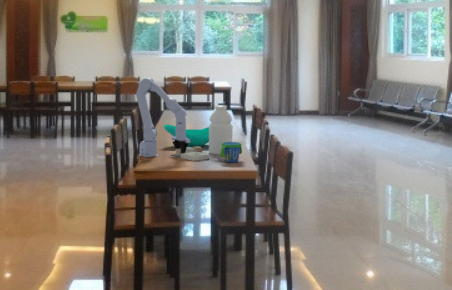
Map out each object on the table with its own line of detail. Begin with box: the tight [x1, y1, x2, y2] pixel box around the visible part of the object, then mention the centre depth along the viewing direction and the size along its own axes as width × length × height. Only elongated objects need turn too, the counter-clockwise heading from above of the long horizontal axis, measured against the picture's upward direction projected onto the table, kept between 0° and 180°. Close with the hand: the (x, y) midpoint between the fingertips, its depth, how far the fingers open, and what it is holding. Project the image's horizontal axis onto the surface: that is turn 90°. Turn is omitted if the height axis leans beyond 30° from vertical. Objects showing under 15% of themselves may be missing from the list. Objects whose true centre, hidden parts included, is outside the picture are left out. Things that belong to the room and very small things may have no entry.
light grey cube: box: [186, 146, 194, 153], centre depth 374 cm, size 4×4×4 cm
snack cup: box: [220, 141, 243, 164], centre depth 356 cm, size 16×10×10 cm
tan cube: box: [191, 146, 203, 153], centre depth 378 cm, size 4×4×4 cm
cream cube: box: [175, 148, 186, 156], centre depth 370 cm, size 4×4×4 cm
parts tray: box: [170, 151, 208, 158], centre depth 374 cm, size 18×10×1 cm, turn 132°
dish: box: [180, 152, 210, 162], centre depth 362 cm, size 11×11×3 cm
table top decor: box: [163, 124, 209, 148], centre depth 410 cm, size 40×28×13 cm
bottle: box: [208, 104, 234, 155], centre depth 382 cm, size 14×14×28 cm
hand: (180, 153), depth 370 cm, fingers closed on cream cube, 4 cm apart
